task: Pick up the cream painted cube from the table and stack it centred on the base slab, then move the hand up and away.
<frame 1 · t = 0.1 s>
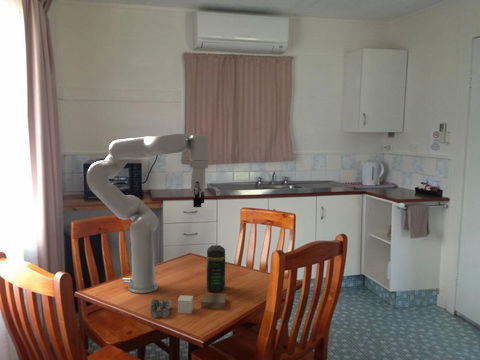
hand: (198, 205, 186), 37 cm above the table, tool pointing down, fingers open, 9 cm apart
egg carton: (160, 313, 167), on the table
coffee jar: (215, 289, 192), on the table
base: (213, 305, 175), on the table
cube: (185, 310, 168), on the table
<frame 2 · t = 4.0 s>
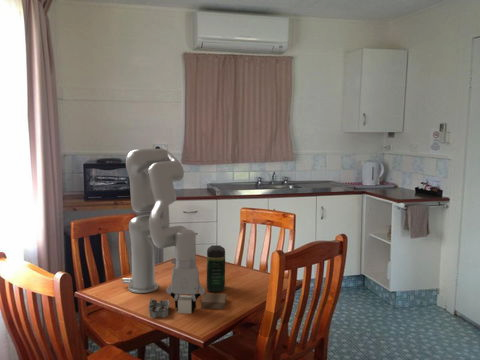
hand: (185, 309, 168), 0 cm above the table, tool pointing down, fingers closed on cube, 5 cm apart
cube: (185, 310, 168), on the table, touching gripper
when the fingers open (4 cm above the table, at t = 9.2 s): cube drops 1 cm, resting on base.
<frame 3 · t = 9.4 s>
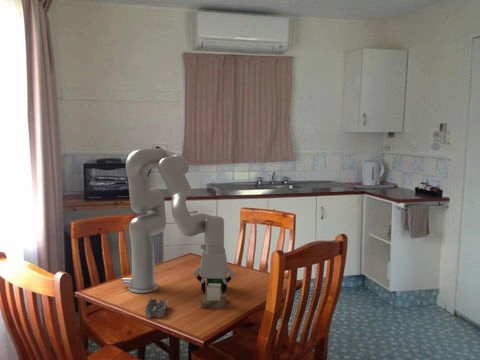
hand: (214, 292, 174), 5 cm above the table, tool pointing down, fingers open, 7 cm apart
base: (213, 305, 175), on the table, touching cube
cube: (214, 298, 174), point 2 cm above the table, touching base
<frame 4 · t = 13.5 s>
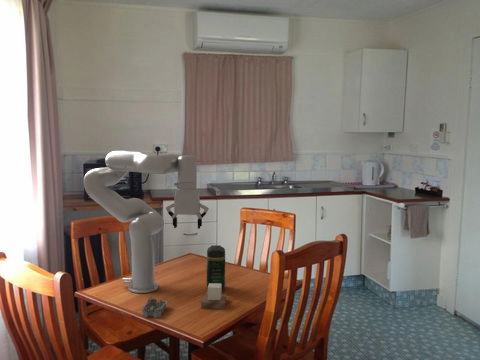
hand: (187, 227, 181), 28 cm above the table, tool pointing down, fingers open, 9 cm apart
at the end: cube 0.2 cm off-centre on the base, point 3.1 cm above the base's base; cube tilted 1°; the gripper is holding nothing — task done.
